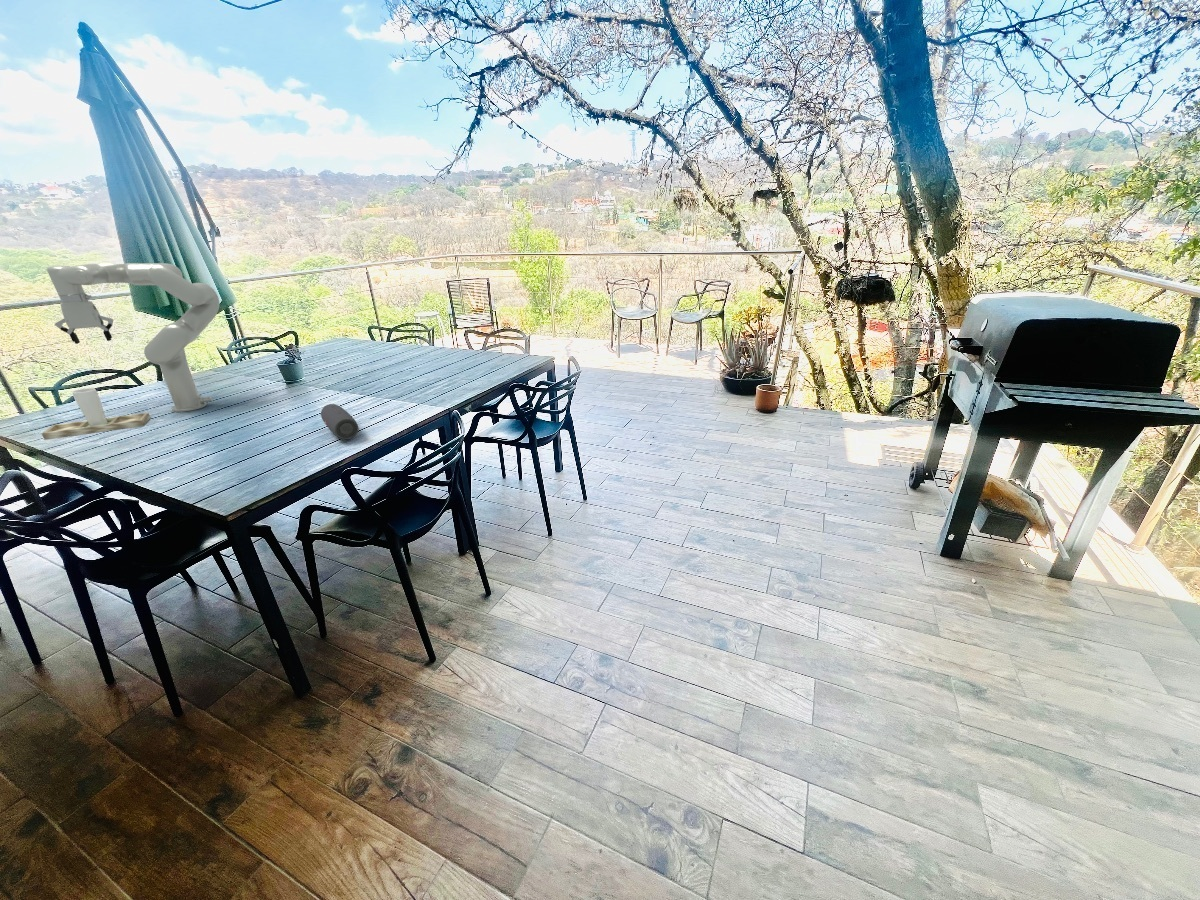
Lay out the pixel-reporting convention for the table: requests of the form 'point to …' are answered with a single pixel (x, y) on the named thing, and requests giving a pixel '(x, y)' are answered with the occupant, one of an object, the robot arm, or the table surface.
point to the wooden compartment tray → (85, 428)
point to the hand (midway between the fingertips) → (93, 341)
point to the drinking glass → (90, 406)
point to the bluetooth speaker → (339, 421)
